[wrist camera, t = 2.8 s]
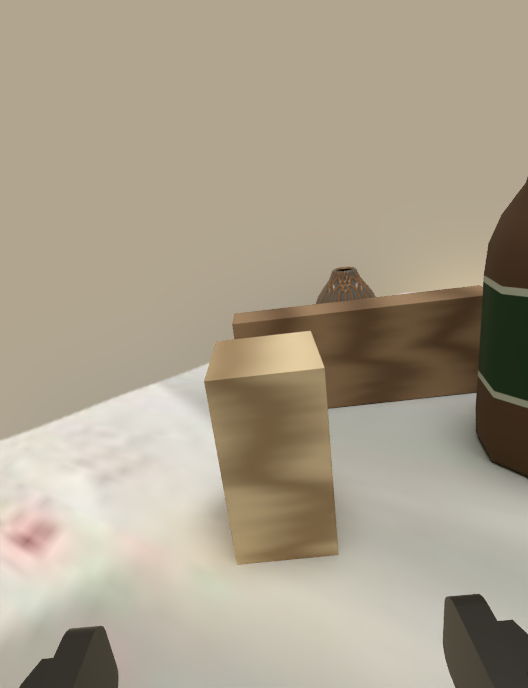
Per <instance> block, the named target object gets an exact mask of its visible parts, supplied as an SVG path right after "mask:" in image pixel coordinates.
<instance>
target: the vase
mask: <svg viewBox="0 0 528 688" xmlns="http://www.w3.org/2000/svg"><path fill="white" fill-rule="evenodd" d="M366 298H375V295H374V293H373V291H372V290H371V289H370V288H369V286H368V285H367V284H366V283H365V282H364V281H363V280H362V278H361V277H360V276H359V274H358V272H357V270H356V268H354V267H341V268H336V269H334V270H333V271H332V274H331V277H330V279H329V281H328V282H327V284H326V285H325V287H324V288H323V290H322V291H321V293H320V295H319V297H318V299H317V302H316V304H323V303H332V302H340V301H349V300H358V299H366Z"/></svg>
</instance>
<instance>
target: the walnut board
mask: <svg viewBox="0 0 528 688" xmlns="http://www.w3.org/2000/svg"><path fill="white" fill-rule="evenodd" d="M482 298H483V287H482V286H471V287H462V288H453V289H444V290H436V291H427V292H418V293H410V294H401V295H392V296H384V297H375V298H366V299H358V300H349V301H340V302H332V303H323V304H314V305H306V306H298V307H288V308H280V309H272V310H262V311H254V312H245V313H237V314H234V319H233V324H232V325H233V332H234V339H243V338H251V337H260V336H269V335H278V334H286V333H295V332H304V331H311V333H312V336H313V338H314V341H315V344H316V346H317V349H318V352H319V354H320V357H321V360H322V362H323V365H324V368H325V380H326V393H327V407H328V408H334V407H344V406H353V405H362V404H371V403H381V402H390V401H399V400H408V399H418V398H427V397H436V396H445V395H455V394H464V393H473V392H477V380H478V363H479V347H480V331H481V315H482Z"/></svg>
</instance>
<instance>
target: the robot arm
mask: <svg viewBox="0 0 528 688" xmlns="http://www.w3.org/2000/svg"><path fill="white" fill-rule="evenodd" d="M443 648H444V654H445V659H446V662H447V666H448V669H449V672H450V675H451V678H452V680H453V683H454V685H455V688H528V634H527V633H526V632H525V631H524V630H523V629H522V628H521V627H520V626H518V625H517V624H516V623H515V622H514V621H513V620H505V621H497V620H496V618H495V616H494V614H493V613H492V611H491V609H490V607H489V605H488V604H487V602H486V600H485V599H484V598H483V597H482V596H481V595H480V594H472V595H460V596H449V597H446V598H445V606H444V629H443ZM20 688H118V669H117V665H116V662H115V659H114V656H113V653H112V650H111V646H110V643H109V640H108V637H107V634H106V631H105V629H104V627H103V626H94V627H83V628H71V629H69V630H68V631H67V632H66V633H65V634H64V636H63V638H62V640H61V642H60V644H59V647H58V649H57V651H56V653H55V655H54V658H49V659H42V660H41V661H40V662H39V663H38V665H37V666H36V667H35V668H34V669H33V671H32V672H31V673H30V674H29V676H28V677H27V678H26V679H25V680H24V682H23V683H22V684H21V685H20Z"/></svg>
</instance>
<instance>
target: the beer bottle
mask: <svg viewBox="0 0 528 688" xmlns="http://www.w3.org/2000/svg"><path fill="white" fill-rule="evenodd" d="M476 432H477V434H478V436H479V438H480V440H481V441H482V443H483V445H484V447H485V449H486V450H487V452H488V454H489V456H490V458H491V460H492V461H493V462H494V463H497V464H499V465H501V466H504V467H506V468H508V469H511V470H513V471H515V472H518V473H520V474H522V475H525V476H527V477H528V178H527V181H526V183H525V185H524V186H523V187H522V189H521V190H520V191H519V193H518V194H517V195H516V196H515V198H514V199H513V201H512V202H511V203H510V204H509V206H508V207H507V208H506V210H505V211H504V212H503V214H502V215H501V217H500V220H499V222H498V224H497V226H496V228H495V231H494V233H493V235H492V237H491V239H490V242H489V244H488V251H487V258H486V265H485V271H484V282H483V298H482V315H481V331H480V347H479V363H478V380H477V396H476Z"/></svg>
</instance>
